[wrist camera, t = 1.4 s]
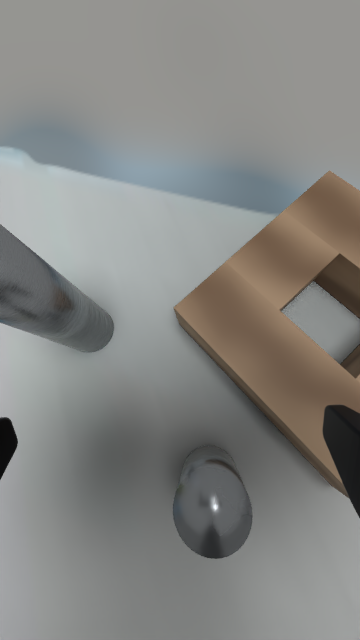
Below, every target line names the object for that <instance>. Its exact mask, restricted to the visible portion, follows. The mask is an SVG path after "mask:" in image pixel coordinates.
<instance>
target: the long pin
mask: <svg viewBox="0 0 360 640" xmlns="http://www.w3.org/2000/svg"><path fill="white" fill-rule="evenodd" d="M0 323H3V324H6V325H9V326H11V327H14V328H17V329H20V330H23V331H26V332H29V333H31V334H34V335H37V336H40V337H43V338H46V339H49V340H51V341H54V342H57V343H60V344H63V345H66V346H69V347H72V348H74V349H77V350H80V351H83V352H95V351H98V350H100V349H102V348H103V347H104V346H106V345H107V343H108V342H109V341H110V339H111V337H112V334H113V329H114V327H113V321H112V319H111V317H110V316H109V314H108V313H107V312H105V311H104V310H103V309H102V308H101V307H99V306H98V305H97V304H96V303H95V302H93V301H92V300H91V299H90V298H89V297H87V296H86V295H85V294H84V293H83V292H81V291H80V290H79V289H78V288H77V287H75V286H74V285H73V284H72V283H71V282H69V281H68V280H67V279H66V278H65V277H63V276H62V275H61V274H60V273H58V272H57V271H56V270H55V269H54V268H52V267H51V266H50V265H49V264H48V263H46V262H45V261H44V260H43V259H42V258H40V257H39V256H38V255H37V254H36V253H34V252H33V251H32V250H31V249H30V248H28V247H27V246H26V245H25V244H24V243H22V242H21V241H20V240H19V239H18V238H16V237H15V236H14V235H13V234H12V233H10V232H9V231H8V230H7V229H6V228H4V227H3V226H2V225H1V224H0Z"/></svg>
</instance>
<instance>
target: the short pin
mask: <svg viewBox="0 0 360 640" xmlns="http://www.w3.org/2000/svg"><path fill="white" fill-rule="evenodd" d="M173 516H174V522H175V525H176V528H177V531H178V533H179V535H180V537H181V538H182V540H183V541H184V543H185V544H186V545H187V546H188V547H189V548H190V549H191V550H193V551H194V552H195V553H197V554H199V555H201V556H204V557H207V558H215V559H217V558H223V557H227V556H229V555H231V554H233V553H234V552H236V551H237V550H238V549H239V548H240V547H241V546H242V545H243V544H244V542H245V541H246V539H247V537H248V535H249V532H250V529H251V524H252V507H251V502H250V499H249V496H248V494H247V492H246V489H245V487H244V485H243V482H242V480H241V478H240V475H239V473H238V471H237V468H236V466H235V464H234V462H233V460H232V458H231V457H230V456H229V455H228V454H227V453H226V452H225V451H224V450H222V449H221V448H218V447H216V446H211V445H207V446H202V447H199V448H197V449H195V450H194V451H192V452H191V453H190V455H189V456H188V457H187V459H186V461H185V463H184V466H183V470H182V473H181V477H180V480H179V484H178V487H177V491H176V494H175V498H174V504H173Z"/></svg>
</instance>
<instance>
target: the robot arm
mask: <svg viewBox="0 0 360 640" xmlns="http://www.w3.org/2000/svg"><path fill="white" fill-rule="evenodd" d="M322 432H323V437H324V440H325V442H326V445H327V447H328V450H329V452H330V454H331V457H332V459H333V461H334V464H335V466H336V468H337V471H338V473H339V476H340V478H341V480H342V483H343V485H344V487H345V490H346V492H347V494H348V496H349V498H350V500H351V502H352V504H353V506H354V508H355V510H356V512H357V514H358V516H359V518H360V413H358V412H356V411H354V410H352V409H351V408H349V407H347V406H345V405H342V404H337V405H327V406H326V407H325V410H324V419H323V428H322ZM17 444H18V439H17V436H16V433H15V430H14V428H13V425H12V422H11V420H10V419H9V418H7V417H1V418H0V480H1V478H2V476H3V474H4V472H5V470H6V468H7V466H8V464H9V462H10V460H11V458H12V456H13V454H14V452H15V450H16V448H17Z"/></svg>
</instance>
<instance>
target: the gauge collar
mask: <svg viewBox="0 0 360 640" xmlns="http://www.w3.org/2000/svg"><path fill="white" fill-rule="evenodd" d="M313 280H314V281H315V282H316V283H317V284H319V285H320V286H321V287H322V288H323V289H325V290H326V291H327V292H328V293H330V294H331V295H332V296H333V297H334V298H336V299H337V300H338V301H339V302H340V303H342V304H343V305H344V306H345V307H347V308H348V309H349V310H350V311H351V312H353V313H354V314H355V315H356V316H357V317H359V318H360V191H359V190H358V189H356V188H355V187H353V186H352V185H350V184H349V183H347V182H346V181H344V180H343V179H341V178H340V177H338V176H337V175H335V174H334V173H332V172H331V171H328V172H327V173H326V174H325V175H324V176H323V177H321V178H320V179H319V180H318V181H317V182H316V183H315V184H314V185H312V186H311V187H310V188H309V189H308V190H307V191H306V192H304V193H303V194H302V195H301V196H300V197H299V198H298V199H297V200H295V201H294V202H293V203H292V204H291V205H290V206H289V207H287V208H286V209H285V210H284V211H283V212H282V213H281V214H279V215H278V216H277V217H276V218H275V219H274V220H273V221H271V222H270V223H269V224H268V225H267V226H266V227H265V228H264V229H262V230H261V231H260V232H259V233H258V234H257V235H256V236H254V237H253V238H252V239H251V240H250V241H249V242H248V243H247V244H245V245H244V246H243V247H242V248H241V249H240V250H239V251H237V252H236V253H235V254H234V255H233V256H232V257H231V258H229V259H228V260H227V261H226V262H225V263H224V264H223V265H222V266H220V267H219V268H218V269H217V270H216V271H215V272H214V273H212V274H211V275H210V276H209V277H208V278H207V279H206V280H205V281H203V282H202V283H201V284H200V285H199V286H198V287H197V288H195V289H194V290H193V291H192V292H191V293H190V294H189V295H187V296H186V297H185V298H184V299H183V300H182V301H181V302H180V303H178V304H177V305H176V306H175V307H174V310H175V313H176V316H177V319H178V321H179V324H180V325H181V326H182V328H183V329H184V330H185V331H186V332H187V333H188V334H189V335H190V336H191V337H192V338H193V339H194V340H195V341H196V342H197V343H198V344H199V346H200V347H201V348H202V349H203V350H204V351H205V352H206V353H207V354H208V355H209V356H210V357H211V358H212V359H213V360H214V361H215V362H216V364H217V365H218V366H219V367H220V368H221V369H222V370H223V371H224V372H225V373H226V374H227V375H228V376H229V377H230V378H231V379H232V380H233V382H234V383H235V384H236V385H237V386H238V387H239V388H240V389H241V390H242V391H243V392H244V393H245V394H246V395H247V396H248V397H249V398H250V400H251V401H252V402H253V403H254V404H255V405H256V406H257V407H258V408H259V409H260V410H261V411H262V412H263V413H264V414H265V415H266V416H267V417H268V419H269V420H270V421H271V422H272V423H273V424H274V425H275V426H276V427H277V428H278V429H279V430H280V431H281V432H282V433H283V434H284V435H285V437H286V438H287V439H288V440H289V441H290V442H291V443H292V444H293V445H294V446H295V447H296V448H297V449H298V450H299V451H300V452H301V453H302V455H303V456H304V457H305V458H306V459H307V460H308V461H309V462H310V463H311V464H312V465H313V466H314V467H315V468H316V469H317V470H318V471H319V473H320V474H321V475H322V476H323V477H324V478H325V479H326V480H327V481H328V482H329V483H330V484H331V485H332V486H333V487H334V488H336V489H337V490H338V491H340V492H341V493H342V494H344V495H345V496H347V497H348V498H349V496H348V494H347V492H346V490H345V487H344V485H343V483H342V480H341V478H340V476H339V473H338V471H337V468H336V466H335V464H334V461H333V459H332V457H331V454H330V452H329V450H328V447H327V445H326V442H325V440H324V437H323V432H322V428H323V419H324V410H325V407H326V406H327V405H337V404H342V405H345V406H347V407H349V408H351V409H352V410H354V411H356V412H358V413H360V345H359V346H358V347H357V348H356V349H355V350H354V351H353V352H352V353H351V354H350V355H349V356H348V357H347V358H346V359H345V360H344V361H343V362H342V363H341V364H339V363H337V362H336V361H335V360H334V359H333V358H332V357H331V356H330V355H329V354H327V353H326V352H325V351H324V350H323V349H322V348H321V347H320V346H319V345H317V344H316V343H315V342H314V341H313V340H312V339H311V338H310V337H309V336H307V335H306V334H305V333H304V332H303V331H302V330H301V329H300V328H299V327H297V326H296V325H295V324H294V323H293V322H292V321H291V320H290V319H289V318H287V317H286V316H285V315H284V314H283V313H282V312H281V311H282V310H283V309H284V308H285V307H286V306H287V305H288V304H289V303H290V302H291V301H292V300H293V299H294V298H295V297H297V296H298V295H299V294H300V293H301V292H302V291H303V290H304V289H305V288H306V287H307V286H308V285H309V284H310V283H311V282H312V281H313ZM349 499H350V498H349Z"/></svg>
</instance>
